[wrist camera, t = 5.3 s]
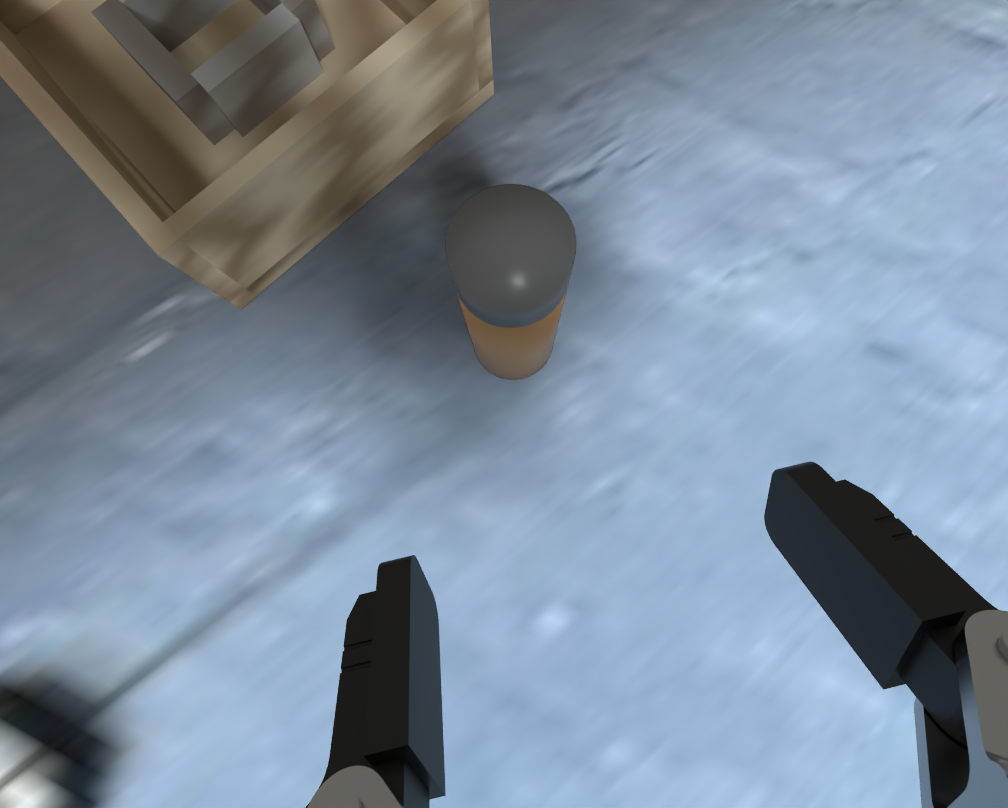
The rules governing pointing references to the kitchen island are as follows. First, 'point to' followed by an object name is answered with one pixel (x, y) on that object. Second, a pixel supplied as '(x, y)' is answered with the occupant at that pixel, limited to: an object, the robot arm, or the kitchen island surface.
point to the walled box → (245, 112)
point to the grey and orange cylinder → (511, 274)
